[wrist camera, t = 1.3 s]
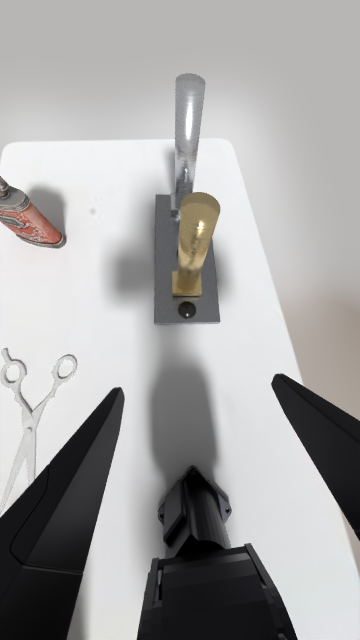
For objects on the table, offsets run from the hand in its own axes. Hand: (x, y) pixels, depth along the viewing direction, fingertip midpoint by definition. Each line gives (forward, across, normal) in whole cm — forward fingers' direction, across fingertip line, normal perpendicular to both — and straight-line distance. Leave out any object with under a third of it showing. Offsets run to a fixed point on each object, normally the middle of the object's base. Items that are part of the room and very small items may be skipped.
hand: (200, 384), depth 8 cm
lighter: (+26, +23, -8) cm, 36 cm away
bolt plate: (+22, -2, -5) cm, 23 cm away
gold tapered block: (+17, -1, -1) cm, 17 cm away
